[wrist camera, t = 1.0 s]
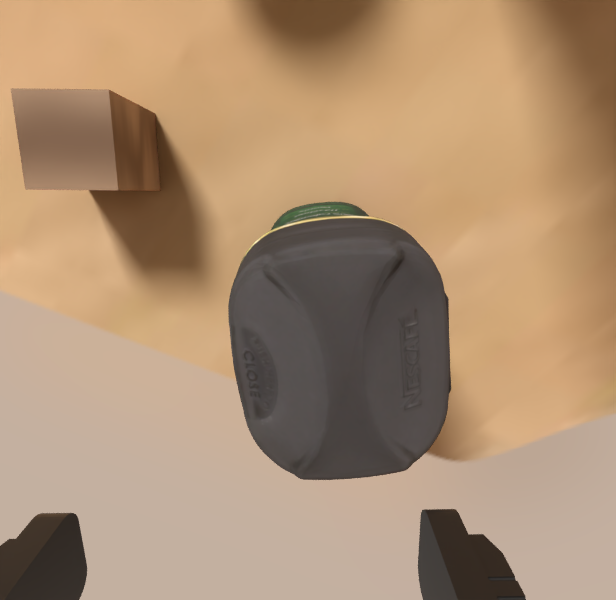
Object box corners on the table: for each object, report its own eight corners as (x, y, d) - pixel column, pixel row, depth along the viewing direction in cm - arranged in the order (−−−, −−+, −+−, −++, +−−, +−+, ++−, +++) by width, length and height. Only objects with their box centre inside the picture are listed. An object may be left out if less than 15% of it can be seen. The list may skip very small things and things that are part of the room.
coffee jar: (260, 209, 30) (192, 235, 12) (372, 195, 30) (469, 203, 12) (278, 338, 33) (243, 518, 15) (382, 327, 33) (476, 495, 15)
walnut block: (80, 112, 29) (10, 88, 22) (155, 113, 29) (108, 89, 22) (88, 189, 30) (25, 189, 23) (160, 190, 30) (118, 190, 23)
